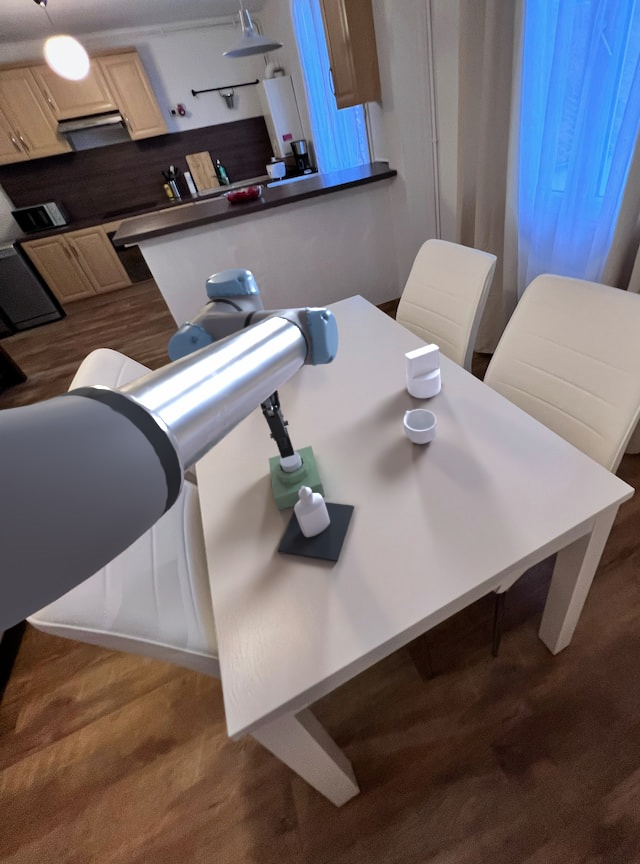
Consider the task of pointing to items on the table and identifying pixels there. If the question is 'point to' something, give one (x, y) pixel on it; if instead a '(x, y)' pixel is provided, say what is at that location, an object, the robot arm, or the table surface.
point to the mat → (318, 535)
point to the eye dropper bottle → (311, 512)
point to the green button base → (294, 479)
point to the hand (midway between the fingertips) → (287, 454)
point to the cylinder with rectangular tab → (423, 371)
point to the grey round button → (291, 463)
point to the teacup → (420, 425)
